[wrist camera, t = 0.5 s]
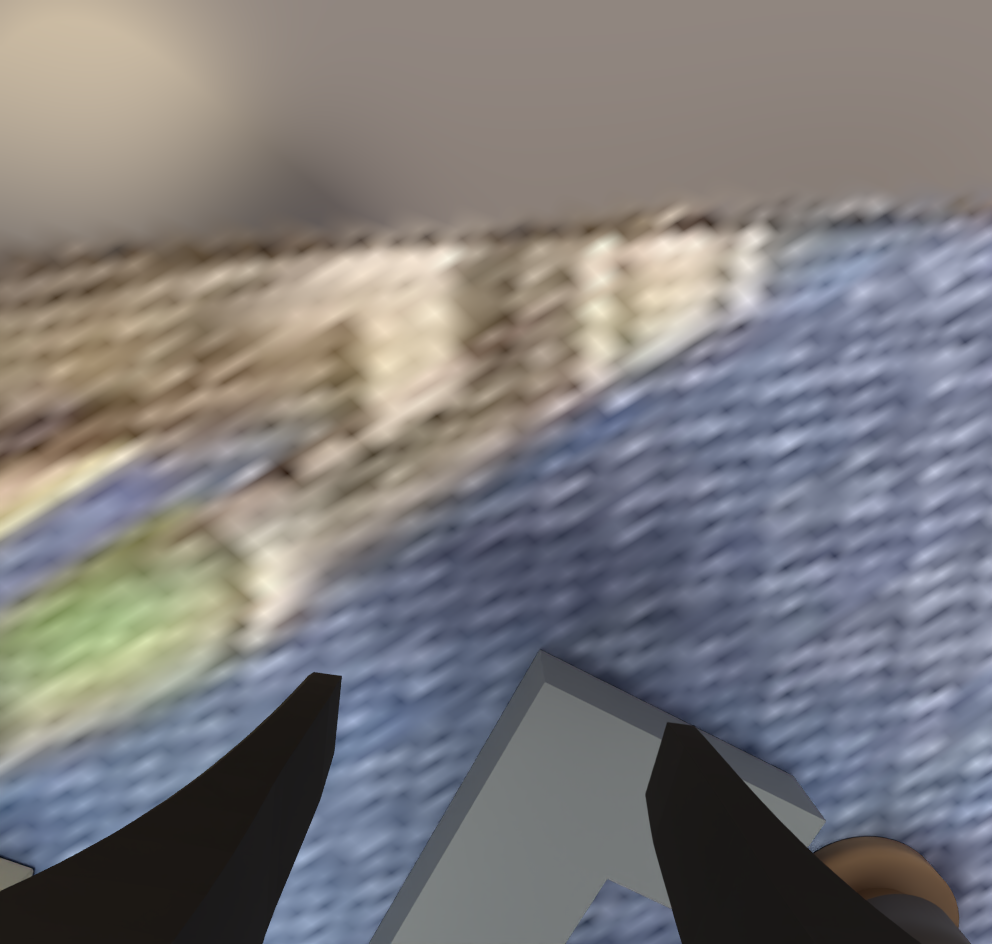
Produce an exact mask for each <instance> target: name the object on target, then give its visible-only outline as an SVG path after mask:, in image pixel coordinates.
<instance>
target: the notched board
mask: <svg viewBox="0 0 992 944" xmlns="http://www.w3.org/2000/svg"><path fill="white" fill-rule="evenodd" d="M667 722H671V723H679V724H686V725H690V724H688V723H686V722H684V721H682V720H680V719H678V718H676V717H674V716H672V715H670V714H668V713H666V712H664V711H662V710H660V709H658V708H656V707H654V706H652V705H650V704H648V703H646V702H644V701H642V700H640V699H638V698H636V697H634V696H632V695H630V694H628V693H626V692H624V691H622V690H620V689H618V688H616V687H614V686H612V685H610V684H608V683H606V682H604V681H602V680H600V679H598V678H596V677H594V676H592V675H590V674H588V673H586V672H584V671H582V670H580V669H578V668H576V667H574V666H572V665H570V664H568V663H566V662H564V661H562V660H560V659H558V658H556V657H554V656H552V655H550V654H548V653H546V652H544V651H542V650H539V652H538V654H537V655H536V657H535V659H534V660H533V662H532V664H531V666H530V667H529V669H528V671H527V672H526V674H525V676H524V678H523V679H522V681H521V683H520V685H519V686H518V688H517V690H516V691H515V693H514V695H513V697H512V698H511V700H510V702H509V703H508V705H507V707H506V709H505V710H504V712H503V714H502V716H501V717H500V719H499V721H498V722H497V724H496V726H495V728H494V729H493V731H492V733H491V734H490V736H489V738H488V740H487V741H486V743H485V745H484V746H483V748H482V750H481V752H480V753H479V755H478V757H477V759H476V760H475V762H474V764H473V765H472V767H471V769H470V771H469V772H468V774H467V776H466V777H465V779H464V781H463V783H462V784H461V786H460V788H459V790H458V791H457V793H456V795H455V796H454V798H453V800H452V802H451V803H450V805H449V807H448V808H447V810H446V812H445V814H444V815H443V817H442V819H441V820H440V822H439V824H438V826H437V827H436V829H435V831H434V833H433V834H432V836H431V838H430V839H429V841H428V843H427V845H426V846H425V848H424V850H423V851H422V853H421V855H420V857H419V858H418V860H417V862H416V864H415V865H414V867H413V869H412V870H411V872H410V874H409V876H408V877H407V879H406V881H405V882H404V884H403V886H402V888H401V889H400V891H399V893H398V894H397V896H396V898H395V900H394V901H393V903H392V905H391V907H390V908H389V910H388V912H387V913H386V915H385V917H384V919H383V920H382V922H381V924H380V925H379V927H378V929H377V931H376V932H375V934H374V936H373V938H372V939H371V941H370V943H369V944H565V943H566V942H567V940H568V939H569V937H570V935H571V934H572V932H573V931H574V929H575V928H576V926H577V925H578V923H579V922H580V920H581V918H582V917H583V915H584V914H585V912H586V911H587V909H588V908H589V906H590V905H591V903H592V901H593V900H594V898H595V897H596V895H597V894H598V892H599V891H600V889H601V888H602V886H603V884H604V883H605V881H606V880H607V879H609V880H611V881H613V882H615V883H617V884H619V885H621V886H624V887H626V888H628V889H630V890H632V891H634V892H636V893H638V894H641V895H643V896H645V897H647V898H649V899H651V900H653V901H655V902H658V903H660V904H662V905H664V906H666V907H668V908H670V909H672V908H671V904H670V901H669V898H668V894H667V891H666V887H665V884H664V880H663V877H662V873H661V870H660V866H659V863H658V859H657V856H656V852H655V848H654V845H653V840H652V834H651V829H650V823H649V817H648V810H647V804H646V797H645V793H646V790H647V786H648V783H649V780H650V776H651V773H652V770H653V767H654V763H655V760H656V757H657V753H658V750H659V747H660V744H661V740H662V737H663V734H664V730H665V727H666V724H667ZM697 729H698V728H697ZM698 730H699V731H700V732H701V734H702V735H703V736H704V737H705V738H706V739H707V740H708V741H709V742H710V744H711V745H712V746H713V747H714V748H715V749H716V750H717V752H718V753H719V754H720V755H721V756H722V757H723V758H724V760H725V761H726V762H727V763H728V764H729V765H730V766H731V767H732V769H733V770H734V771H735V772H736V773H737V774H738V775H739V777H740V778H741V779H742V780H743V781H744V782H745V783H746V784H747V785H748V787H749V788H750V789H751V790H752V791H753V792H754V793H755V794H756V795H757V796H758V798H759V799H760V800H761V801H762V802H763V803H764V804H765V805H766V806H767V807H768V808H769V809H770V810H771V811H772V812H773V814H774V815H775V816H776V817H777V818H778V819H779V820H780V821H781V822H782V823H783V824H784V825H785V826H786V827H787V828H788V829H789V830H790V831H791V832H792V833H793V834H794V835H795V836H796V837H797V838H798V839H799V840H800V841H801V842H802V843H803V844H804V845H805V846H806V847H807V848H808V846H809V845H810V843H811V842H812V840H813V839H814V838H815V836H816V835H817V833H818V832H819V831H820V829H821V828H822V826H823V825H824V823H825V822H826V820H825V819H824V817H823V816H822V815H821V813H820V812H819V811H818V809H817V808H816V807H815V805H814V804H813V802H812V801H811V800H810V798H809V797H808V796H807V794H806V793H805V791H804V790H803V789H802V787H801V786H800V785H799V783H798V782H797V780H796V779H795V778H794V776H792V775H790V774H788V773H786V772H784V771H782V770H780V769H778V768H776V767H774V766H772V765H770V764H768V763H766V762H764V761H762V760H760V759H758V758H756V757H754V756H752V755H750V754H748V753H746V752H744V751H742V750H740V749H738V748H736V747H734V746H732V745H730V744H728V743H726V742H724V741H722V740H720V739H718V738H716V737H714V736H712V735H710V734H708V733H706V732H704V731H702V730H700V729H698Z"/></svg>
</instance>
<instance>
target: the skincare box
mask: <svg viewBox="0 0 992 944" xmlns="http://www.w3.org/2000/svg"><path fill="white" fill-rule="evenodd" d="M32 875H33V869H32V868H29V867H26V866H23V865H20V864H17V863H14V862H11V861H8V860H5V859H3V858H0V891H1V890H3V889H5V888H7V887H10V886H12V885H14V884H16V883H18V882H21V881H23V880H25V879H27V878H29V877H31V876H32Z"/></svg>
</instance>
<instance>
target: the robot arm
mask: <svg viewBox="0 0 992 944" xmlns="http://www.w3.org/2000/svg"><path fill="white" fill-rule="evenodd" d="M341 680H342V676H338V675H330V674H323V673H316V672H313V673H312V674H310V675H309V676H308V677H307V678H306V679H305V680H304V681H303V682H302V683H301V684H300V685H299V686H298V687H297V688H296V690H295V691H294V692H293V693H292V694H291V695H290V696H289V697H288V698H287V699H286V700H285V701H284V702H283V703H282V704H281V705H280V706H279V707H278V708H277V709H276V710H275V711H274V712H273V713H272V714H271V715H270V716H269V717H267V718H266V719H265V720H264V721H263V722H262V723H261V724H260V725H259V726H258V727H257V728H256V729H255V730H253V731H252V732H251V733H250V734H249V735H248V736H247V737H246V738H245V739H244V740H242V741H241V742H240V743H239V744H238V745H237V746H235V747H234V748H233V749H232V750H231V751H229V752H228V753H227V754H226V755H225V756H223V757H222V758H221V759H220V760H219V761H217V762H216V763H215V764H214V765H213V766H211V767H210V768H209V769H207V770H206V771H205V772H204V773H202V774H201V775H200V776H198V777H197V778H196V779H194V780H193V781H192V782H190V783H189V784H188V785H186V786H185V787H184V788H182V789H181V790H179V791H178V792H177V793H175V794H174V795H172V796H171V797H170V798H168V799H167V800H165V801H164V802H162V803H161V804H159V805H158V806H156V807H154V808H153V809H151V810H150V811H148V812H147V813H145V814H144V815H142V816H141V817H139V818H138V819H136V820H135V821H133V822H131V823H130V824H128V825H126V826H125V827H123V828H122V829H120V830H118V831H117V832H115V833H113V834H112V835H110V836H108V837H106V838H104V839H103V840H101V841H99V842H97V843H95V844H94V845H92V846H90V847H88V848H86V849H85V850H83V851H81V852H79V853H77V854H75V855H73V856H71V857H70V858H68V859H66V860H64V861H62V862H60V863H58V864H56V865H54V866H52V867H50V868H48V869H46V870H44V871H42V872H40V873H38V874H36V875H34V876H31V877H29V878H27V879H25V880H23V881H21V882H18V883H16V884H14V885H12V886H10V887H7V888H5V889H3V890H1V891H0V944H262V943H263V940H264V937H265V934H266V932H267V929H268V926H269V924H270V921H271V918H272V916H273V913H274V910H275V908H276V905H277V903H278V900H279V898H280V896H281V893H282V891H283V888H284V886H285V884H286V881H287V879H288V876H289V874H290V872H291V869H292V867H293V864H294V862H295V860H296V857H297V855H298V852H299V850H300V848H301V845H302V843H303V840H304V838H305V836H306V833H307V831H308V828H309V826H310V824H311V821H312V819H313V816H314V814H315V811H316V809H317V806H318V804H319V802H320V799H321V796H322V792H323V789H324V786H325V782H326V779H327V776H328V772H329V769H330V765H331V762H332V758H333V755H334V750H335V740H336V730H337V720H338V710H339V700H340V690H341ZM645 797H646V804H647V810H648V817H649V823H650V829H651V834H652V840H653V845H654V848H655V852H656V856H657V859H658V863H659V866H660V870H661V873H662V877H663V880H664V884H665V887H666V891H667V894H668V898H669V901H670V904H671V908H672V911H673V915H674V918H675V922H676V925H677V928H678V932H679V935H680V939H681V942H682V944H921V943H920V942H919V941H917V940H916V939H915V938H913V937H912V936H911V935H909V934H908V933H907V932H905V931H904V930H903V929H902V928H900V927H899V926H898V925H897V924H895V923H894V922H893V921H892V920H890V919H889V918H888V917H886V916H885V915H884V914H883V913H881V912H880V911H879V910H878V909H876V908H875V907H874V906H873V905H871V904H870V903H869V902H868V901H867V900H865V899H864V898H863V897H862V896H861V895H859V894H858V893H857V892H856V891H855V890H853V889H852V888H851V887H850V886H849V885H848V884H847V883H846V882H844V881H843V880H842V879H841V878H840V877H839V876H838V875H837V874H835V873H834V872H833V871H832V870H831V869H830V868H829V867H828V866H826V865H825V864H824V863H823V862H822V861H821V860H820V859H819V858H818V857H817V856H816V855H815V854H813V853H812V852H811V851H810V850H809V849H808V848H807V847H806V846H805V845H804V844H803V843H802V842H801V841H800V840H799V839H798V838H797V837H796V836H795V835H794V834H793V833H792V832H791V831H790V830H789V829H788V828H787V827H786V826H785V825H784V824H783V823H782V822H781V821H780V820H779V819H778V818H777V817H776V816H775V815H774V814H773V812H772V811H771V810H770V809H769V808H768V807H767V806H766V805H765V804H764V803H763V802H762V801H761V800H760V799H759V798H758V796H757V795H756V794H755V793H754V792H753V791H752V790H751V789H750V788H749V787H748V785H747V784H746V783H745V782H744V781H743V780H742V779H741V778H740V777H739V775H738V774H737V773H736V772H735V771H734V770H733V769H732V767H731V766H730V765H729V764H728V763H727V762H726V761H725V760H724V758H723V757H722V756H721V755H720V754H719V753H718V752H717V750H716V749H715V748H714V747H713V746H712V745H711V744H710V742H709V741H708V740H707V739H706V738H705V737H704V736H703V735H702V734H701V732H700V731H699V730H698V729H697V728H696V727H695V726H693V725H686V724H679V723H671V722H667V724H666V727H665V730H664V734H663V737H662V740H661V744H660V747H659V750H658V753H657V757H656V760H655V763H654V767H653V770H652V773H651V776H650V780H649V783H648V786H647V790H646V793H645Z"/></svg>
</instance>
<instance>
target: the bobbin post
mask: <svg viewBox="0 0 992 944" xmlns="http://www.w3.org/2000/svg"><path fill="white" fill-rule="evenodd" d="M814 854H815V855H816V856H817V857H818V858H819V859H820V860H821V861H822V862H823V863H824V864H825V865H826V866H828V867H829V868H830V869H831V870H832V871H833V872H834V873H835V874H837V875H838V876H839V877H840V878H841V879H842V880H843V881H844V882H846V883H847V884H848V885H849V886H850V887H851V888H852V889H853V890H855V891H856V892H857V893H858V894H859V895H861V896H862V897H863V898H864V899H865V900H867V901H868V902H869V903H870V904H871V905H873V906H874V907H875V908H876V909H878V910H879V911H880V912H881V913H883V914H884V915H885V916H886V917H888V918H889V919H890V920H892V921H893V922H894V923H895V924H897V925H898V926H899V927H900V928H902V929H903V930H904V931H905V932H907V933H908V934H909V935H911V936H912V937H913V938H915V939H916V940H917V941H919V942H920V943H921V944H971V943H970V942H969V941H968V940H967V938H966V937H965V936H964V935H963V933H962V932H961V931H960V930H959V929H958V927H959V913H958V907H957V903H956V900H955V897H954V895H953V893H952V891H951V889H950V888H949V886H948V885H947V883H946V882H945V881H944V880H943V879H942V878H941V876H940V875H939V874H938V873H937V872H936V871H935V870H934V868H933V867H932V866H931V865H930V864H929V863H928V862H927V861H926V860H925V858H924V857H923V856H922V855H920V854H919V853H918V852H917V851H915V850H914V849H912V848H910V847H909V846H907V845H905V844H902V843H900V842H898V841H894V840H891V839H887V838H881V837H855V838H850V839H845V840H841V841H838V842H835V843H833V844H830V845H828V846H826V847H824V848H822V849H820V850H819V851H817V852H815V853H814Z"/></svg>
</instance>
